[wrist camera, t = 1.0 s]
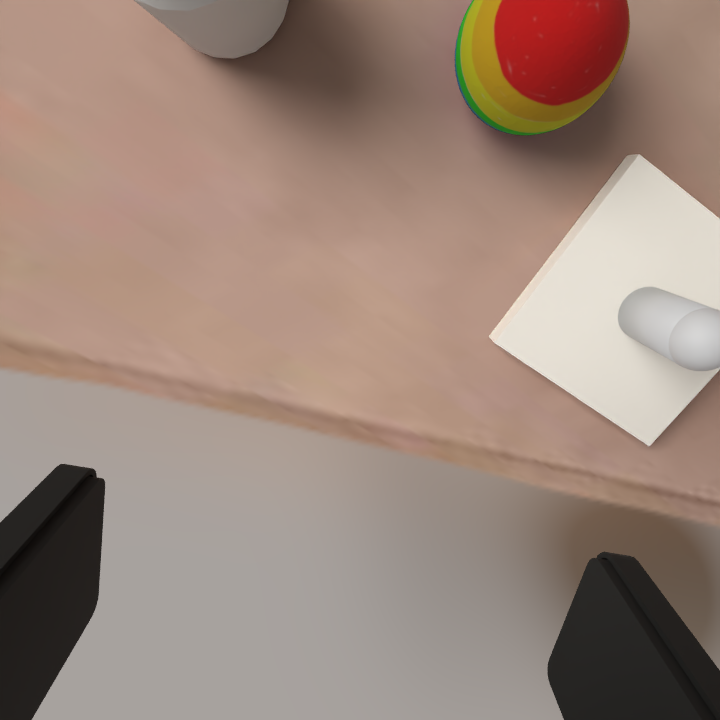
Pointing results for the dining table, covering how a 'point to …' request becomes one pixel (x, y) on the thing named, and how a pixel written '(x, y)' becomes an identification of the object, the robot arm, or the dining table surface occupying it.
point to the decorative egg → (538, 59)
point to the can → (220, 23)
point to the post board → (596, 285)
